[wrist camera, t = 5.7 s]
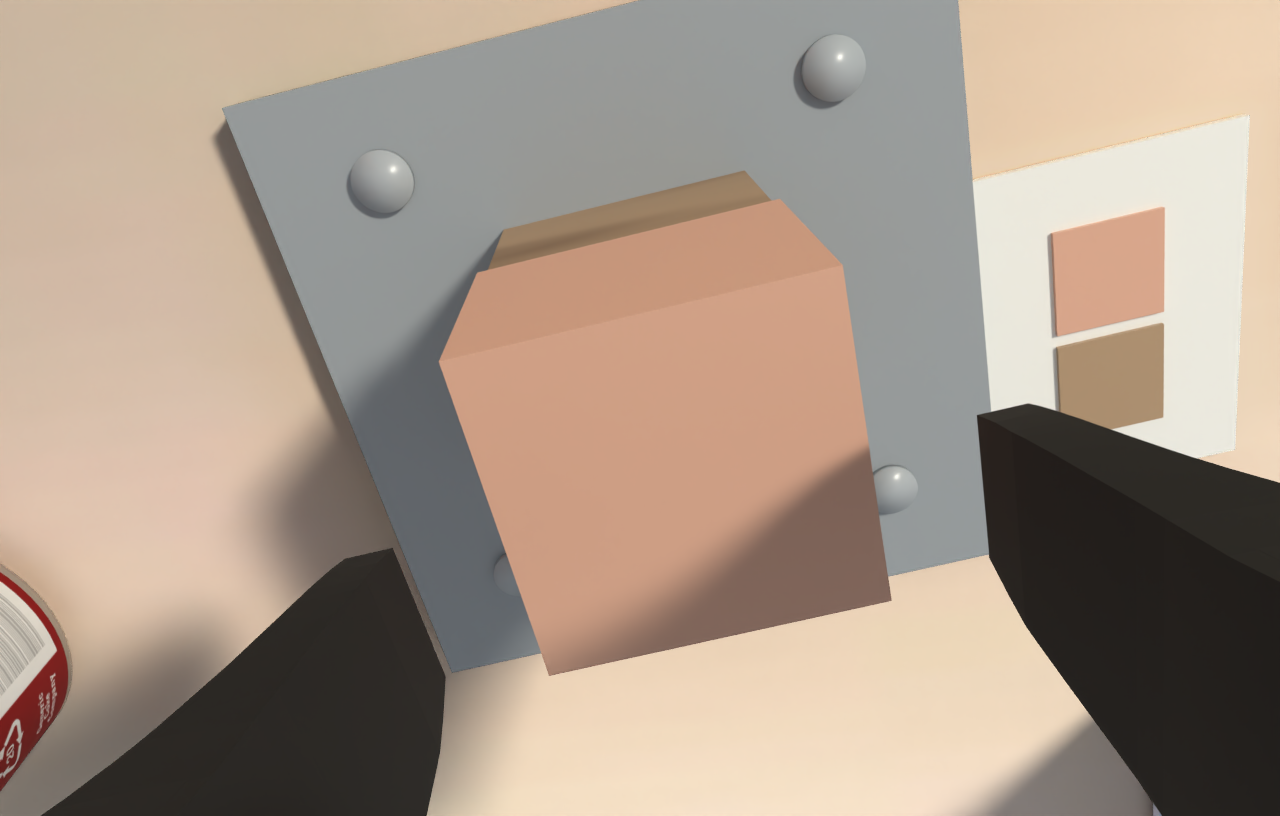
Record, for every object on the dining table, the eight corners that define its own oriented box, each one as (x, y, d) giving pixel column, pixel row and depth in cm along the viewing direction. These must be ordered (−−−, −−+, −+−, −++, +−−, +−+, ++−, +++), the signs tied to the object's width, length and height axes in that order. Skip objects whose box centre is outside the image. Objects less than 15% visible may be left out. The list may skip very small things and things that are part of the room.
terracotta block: (825, 468, 16) (892, 600, 13) (558, 528, 17) (549, 674, 13) (780, 198, 14) (842, 265, 11) (476, 272, 15) (438, 362, 11)
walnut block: (785, 393, 20) (827, 479, 17) (567, 443, 20) (562, 539, 17) (744, 170, 18) (782, 213, 15) (503, 229, 18) (481, 285, 15)
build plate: (989, 533, 23) (1006, 555, 22) (456, 652, 24) (450, 678, 23) (936, -77, 17) (955, -81, 16) (237, 104, 18) (217, 109, 17)
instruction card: (1229, 445, 22) (1237, 451, 22) (986, 500, 23) (991, 506, 22) (1243, 114, 19) (1252, 115, 19) (958, 182, 19) (964, 185, 19)
